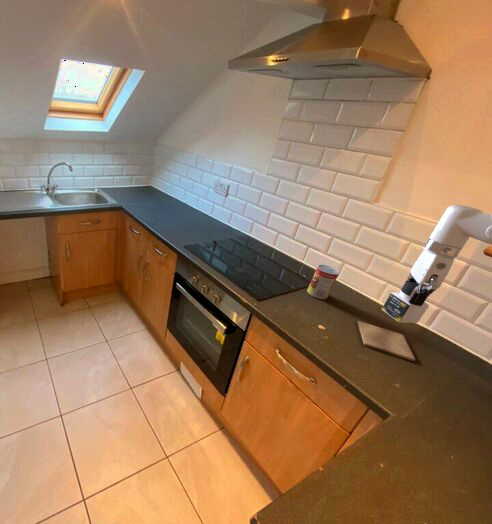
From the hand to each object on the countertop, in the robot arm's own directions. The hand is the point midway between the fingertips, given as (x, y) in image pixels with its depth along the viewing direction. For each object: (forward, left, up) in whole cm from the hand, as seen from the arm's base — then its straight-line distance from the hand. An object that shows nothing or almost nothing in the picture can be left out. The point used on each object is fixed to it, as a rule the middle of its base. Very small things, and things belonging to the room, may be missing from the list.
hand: (410, 297), depth 95 cm
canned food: (+20, -21, -18) cm, 34 cm away
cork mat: (0, 0, -18) cm, 18 cm away
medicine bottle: (0, 0, -7) cm, 7 cm away
